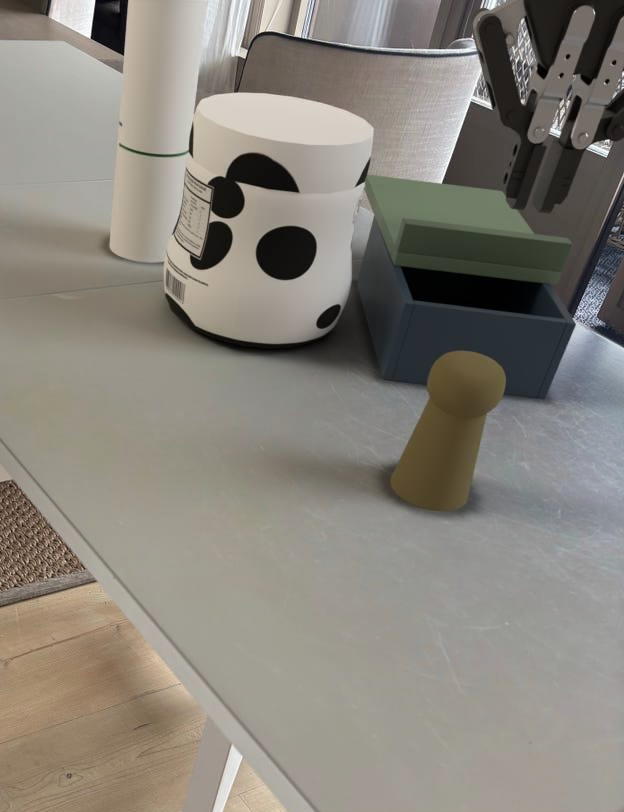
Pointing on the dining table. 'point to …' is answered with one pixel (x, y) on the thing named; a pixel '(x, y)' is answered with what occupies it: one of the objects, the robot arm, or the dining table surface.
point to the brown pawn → (449, 431)
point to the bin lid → (461, 231)
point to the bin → (461, 321)
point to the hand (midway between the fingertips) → (528, 206)
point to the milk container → (267, 219)
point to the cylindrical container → (155, 123)
